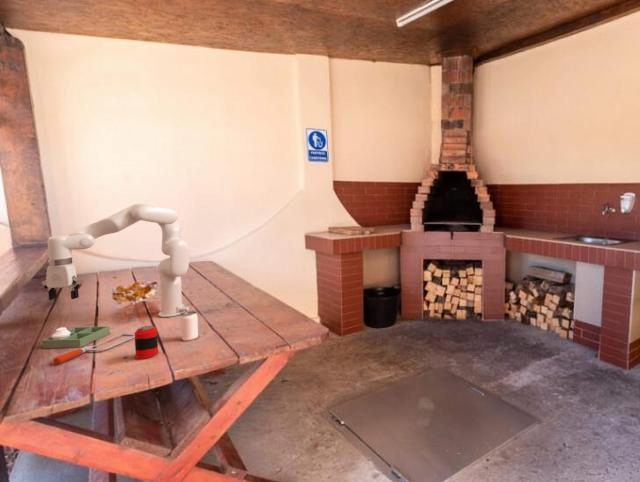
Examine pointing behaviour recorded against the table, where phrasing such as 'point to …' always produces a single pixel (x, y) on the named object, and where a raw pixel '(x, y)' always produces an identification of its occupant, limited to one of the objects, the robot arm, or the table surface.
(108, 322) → the table surface
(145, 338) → the soda can
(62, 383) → the table surface
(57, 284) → the robot arm
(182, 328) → the can
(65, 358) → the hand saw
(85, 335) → the tray
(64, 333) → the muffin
